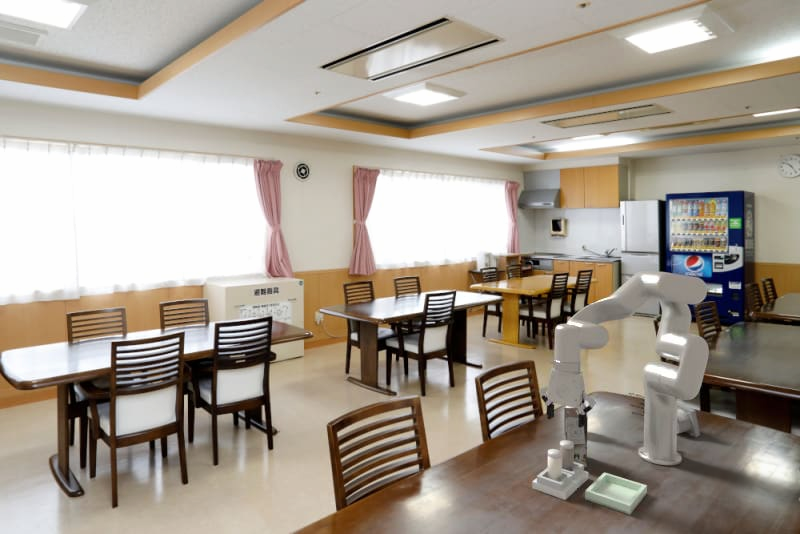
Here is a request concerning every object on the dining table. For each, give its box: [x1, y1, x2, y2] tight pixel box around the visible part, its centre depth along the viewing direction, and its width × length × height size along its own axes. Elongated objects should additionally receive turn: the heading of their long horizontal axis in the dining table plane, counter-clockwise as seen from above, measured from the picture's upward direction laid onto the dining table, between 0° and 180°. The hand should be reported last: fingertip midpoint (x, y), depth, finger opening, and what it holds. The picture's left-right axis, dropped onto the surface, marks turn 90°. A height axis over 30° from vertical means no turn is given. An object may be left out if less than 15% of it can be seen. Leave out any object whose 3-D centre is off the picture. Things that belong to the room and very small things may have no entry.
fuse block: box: [531, 448, 589, 501], centre depth 151 cm, size 16×10×11 cm, turn 138°
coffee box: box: [563, 407, 589, 468], centre depth 165 cm, size 9×6×16 cm
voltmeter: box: [628, 392, 701, 438], centre depth 191 cm, size 27×11×10 cm, turn 43°
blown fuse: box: [559, 439, 574, 472], centre depth 153 cm, size 4×4×9 cm
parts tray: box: [584, 472, 648, 516], centre depth 143 cm, size 14×12×2 cm
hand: (565, 422), depth 152 cm, fingers open, 9 cm apart
